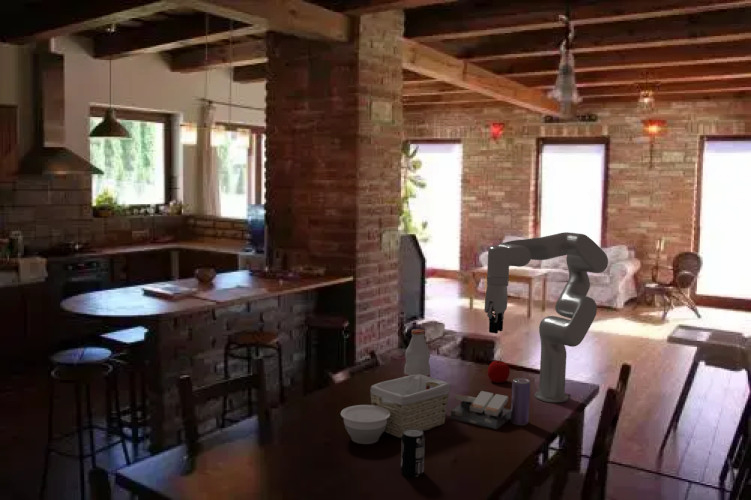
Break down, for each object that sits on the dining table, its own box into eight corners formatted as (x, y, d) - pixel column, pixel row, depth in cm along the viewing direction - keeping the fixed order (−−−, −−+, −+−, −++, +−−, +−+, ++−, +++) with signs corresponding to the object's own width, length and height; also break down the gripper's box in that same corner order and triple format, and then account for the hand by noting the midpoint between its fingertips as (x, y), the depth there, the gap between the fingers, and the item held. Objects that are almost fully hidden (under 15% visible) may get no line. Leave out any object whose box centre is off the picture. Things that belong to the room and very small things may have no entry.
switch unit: (467, 408, 249) (467, 396, 249) (511, 418, 240) (511, 405, 240) (450, 418, 238) (450, 406, 238) (495, 429, 229) (496, 416, 229)
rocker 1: (466, 400, 247) (467, 395, 247) (478, 402, 244) (479, 397, 245) (455, 399, 239) (456, 393, 239) (467, 401, 236) (467, 396, 236)
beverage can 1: (399, 468, 198) (400, 427, 196) (421, 467, 198) (423, 427, 197) (402, 478, 191) (403, 436, 190) (425, 477, 192) (426, 436, 190)
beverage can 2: (528, 426, 232) (530, 383, 231) (510, 424, 234) (512, 382, 232) (528, 420, 238) (530, 378, 237) (510, 418, 239) (512, 377, 238)
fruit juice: (422, 399, 259) (424, 326, 255) (433, 407, 250) (435, 332, 247) (399, 402, 255) (401, 328, 252) (410, 410, 246) (412, 334, 243)
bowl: (396, 433, 224) (396, 408, 223) (380, 451, 209) (381, 424, 208) (350, 426, 229) (351, 402, 228) (332, 444, 214) (332, 417, 213)
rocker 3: (496, 397, 241) (495, 393, 240) (508, 400, 239) (507, 395, 238) (484, 413, 233) (484, 409, 233) (496, 416, 231) (496, 412, 230)
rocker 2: (481, 394, 244) (481, 390, 243) (493, 397, 242) (493, 392, 241) (470, 410, 236) (469, 406, 236) (482, 413, 234) (481, 408, 233)
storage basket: (417, 412, 245) (418, 371, 243) (451, 424, 233) (452, 382, 232) (367, 427, 229) (367, 384, 227) (401, 442, 217) (402, 397, 215)
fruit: (511, 385, 278) (512, 361, 277) (488, 384, 278) (489, 360, 277) (507, 378, 287) (508, 355, 286) (485, 378, 287) (486, 354, 286)
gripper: (497, 277, 251) (495, 326, 253) (478, 282, 238) (476, 334, 240) (516, 279, 247) (514, 329, 249) (498, 285, 233) (496, 337, 236)
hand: (495, 331), depth 244 cm, fingers open, 3 cm apart
